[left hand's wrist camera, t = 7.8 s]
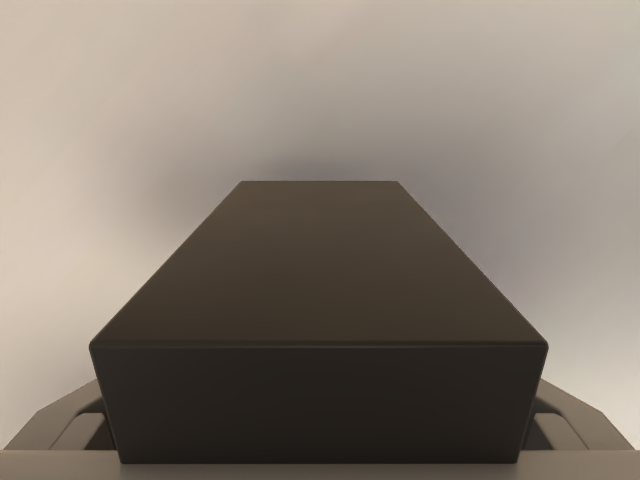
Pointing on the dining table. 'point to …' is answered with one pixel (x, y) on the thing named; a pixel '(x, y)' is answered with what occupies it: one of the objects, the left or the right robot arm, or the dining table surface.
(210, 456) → the bar
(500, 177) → the dining table surface
